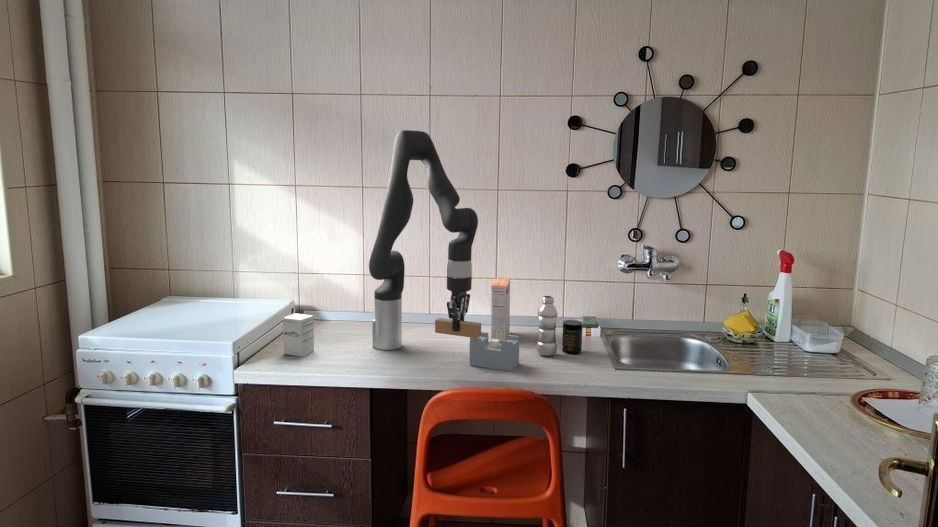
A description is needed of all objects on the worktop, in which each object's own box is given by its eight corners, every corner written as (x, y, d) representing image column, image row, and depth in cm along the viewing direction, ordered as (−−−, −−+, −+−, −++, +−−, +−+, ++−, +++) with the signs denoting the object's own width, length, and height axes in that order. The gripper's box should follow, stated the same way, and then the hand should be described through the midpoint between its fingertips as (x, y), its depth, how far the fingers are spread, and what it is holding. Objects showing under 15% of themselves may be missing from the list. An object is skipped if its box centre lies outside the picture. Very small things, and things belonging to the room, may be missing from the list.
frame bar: (435, 332, 211) (435, 320, 211) (438, 330, 214) (439, 317, 213) (477, 338, 207) (477, 325, 206) (481, 335, 209) (481, 323, 209)
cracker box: (493, 332, 257) (494, 277, 254) (509, 332, 257) (511, 277, 253) (489, 342, 244) (490, 284, 240) (506, 343, 243) (507, 285, 239)
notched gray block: (469, 365, 218) (469, 337, 217) (478, 358, 226) (478, 331, 224) (511, 371, 214) (512, 342, 212) (518, 363, 221) (519, 335, 219)
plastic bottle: (555, 358, 226) (557, 299, 223) (535, 357, 227) (537, 298, 224) (557, 353, 232) (559, 295, 229) (537, 351, 234) (539, 294, 230)
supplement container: (583, 355, 230) (584, 325, 229) (562, 354, 231) (563, 324, 229) (580, 349, 237) (581, 320, 235) (560, 348, 237) (561, 319, 235)
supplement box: (283, 354, 227) (281, 317, 225) (296, 348, 234) (295, 312, 232) (301, 357, 224) (300, 319, 222) (315, 351, 231) (313, 314, 229)
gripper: (456, 269, 215) (455, 322, 218) (438, 277, 202) (437, 334, 205) (479, 271, 212) (477, 325, 215) (462, 279, 199) (461, 337, 202)
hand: (458, 329), depth 210 cm, fingers closed on frame bar, 3 cm apart
